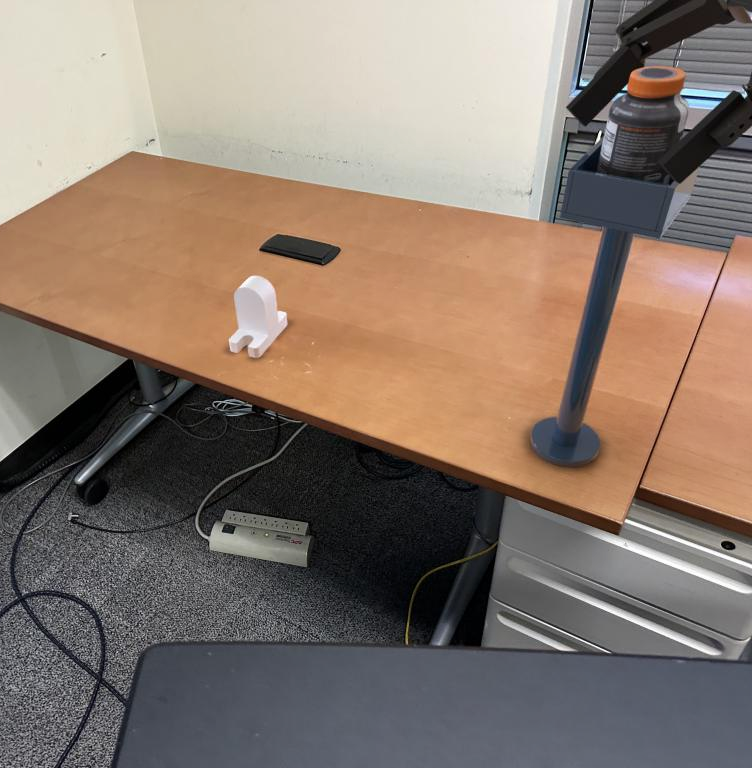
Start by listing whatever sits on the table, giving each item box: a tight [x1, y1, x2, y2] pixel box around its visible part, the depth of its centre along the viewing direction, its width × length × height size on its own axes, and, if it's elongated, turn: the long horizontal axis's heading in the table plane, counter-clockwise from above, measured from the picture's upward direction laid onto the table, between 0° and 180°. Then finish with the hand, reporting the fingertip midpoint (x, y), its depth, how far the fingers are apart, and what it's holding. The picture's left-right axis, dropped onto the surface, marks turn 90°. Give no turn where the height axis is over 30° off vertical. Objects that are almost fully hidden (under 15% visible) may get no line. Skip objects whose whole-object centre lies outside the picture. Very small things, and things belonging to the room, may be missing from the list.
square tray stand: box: [529, 135, 701, 468], centre depth 72 cm, size 8×8×36 cm
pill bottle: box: [596, 65, 690, 185], centre depth 59 cm, size 6×6×11 cm
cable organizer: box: [228, 275, 288, 359], centre depth 104 cm, size 5×10×10 cm, turn 149°
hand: (617, 143), depth 59 cm, fingers open, 13 cm apart
